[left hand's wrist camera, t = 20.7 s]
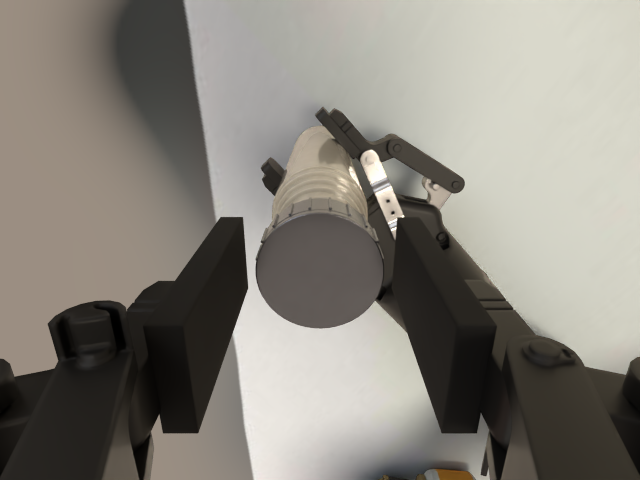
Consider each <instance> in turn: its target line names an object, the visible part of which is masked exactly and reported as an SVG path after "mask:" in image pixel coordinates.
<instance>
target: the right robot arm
mask: <svg viewBox="0 0 640 480" xmlns="http://www.w3.org/2000/svg"><path fill="white" fill-rule="evenodd" d="M315 116H316V117H317V119H318V120H319V121H320V122H321V123H322V124H323V126H324V127H325V128H326V129H327V130H328V131H329V132H330V133H331V135H332V136H333V137H334V138H335V139H336V140H337V141H338V142H339V144H340V145H341V146H342V147H343V148H344V149H345V150H346V151H347V153H348V154H349V155H350V156H351V157H352V158H353V159H354V158H357V159H358V160H359V161H360V163H361V165H362V167H363V169H364V172H365V174H366V176H367V178H368V181H369V183H370V185H371V187H372V190H373V192H374V194H373V195H372V196H371V197H369V198H368V199H367V200H366V202H367V208H368V223H369V224H370V225H371V227H372V229H373V228H374V229H375V232H376V234H377V237H378V240H379V243H378V245H379V246H380V249H381V252H382V254H383V257H384V261H383V262H384V279H383V283H382V287H381V289H380V292H379V294H378V296H377V298H376V299H375V301H376V302H377V303H378V304H379V305H380V306H381V307H382V308H383V309H384V310H385V311H386V312H387V313H388V314H389V315H390V316H391V317H392V318H393V319H394V320H395V321H396V322H397V323H398V324H399V325H400V326H401V327H402V328H403V329H404V330H405V331H406V332H407V330H406V328H405V325H404V322H403V319H402V316H401V313H400V310H399V307H398V304H397V301H396V298H395V296H394V293H393V290H392V279H393V266H394V252H395V239H396V225H397V217H419V218H420V219H421V220H422V222H423V223H424V225H425V226H426V227H427V229H428V230H429V231H430V233H431V234H432V236H433V237H434V238H435V240H436V241H437V243H438V244H439V245H440V247H441V248H442V250H443V251H444V252H445V254H446V255H447V257H448V258H449V259H450V261H451V262H452V264H453V265H454V266H455V268H456V269H457V271H458V272H459V273H460V275H461V276H462V277H463V279H464V280H483V281H485V282H486V283H488V284H490V285H491V286H493V287H495V288H496V286H495V285H494V284H493V283H492V282H491V281H490V279H489V277H488V276H487V274H486V273H485V272H484V271H482V270H481V269H480V268H479V267H478V265H477V264H476V263H475V262H474V261H473V260H472V258H471V257H470V256H469V255H468V254H467V253H466V251H465V250H464V249H463V248H462V247H461V246H460V245H459V243H458V242H457V241H456V240H455V239H454V238H453V236H452V235H451V234H450V233H449V232H448V231H447V229H446V228H445V227H444V225H443V222H442V215H441V212H440V211H439V210H440V208H441V207H442V206H443V204H444V203H445V202H446V200H447V199H448V197H449V196H450V195H451V193H458V192H460V191H461V190H462V189H463V188H464V185H465V182H464V179H463V178H462V177H460V176H459V175H457V174H456V173H455V172H453V171H452V170H450V169H449V168H447V167H446V166H444V165H442V164H441V163H439V162H438V161H436V160H434V159H433V158H431V157H430V156H428V155H427V154H425V153H423V152H422V151H420V150H419V149H417V148H416V147H414V146H412V145H411V144H409V143H408V142H406V141H404V140H403V139H401V138H400V137H398V136H397V135H395V134H389V135H387V136H385V138H382V139H380V140H378V141H374V142H370V141H367V140H366V139H365V138H364V137H363V136H362V135H361V134H360V133H359V132H358V130H357V129H356V128H355V127H354V126H353V125H352V123H351V122H350V121H349V120H348V119H347V118H346V116H345V115H344V114H343V113H342V112H341V111H339V110H337V109H335V108H334V109H333V110H332V111H331V112H330V113H328V112H327V111H326V109H325V108H324V107H322V108H321V109H320V110H319V111H318V112H317V113H316V114H315ZM393 157H394V158H396V159H397V160H399V161H401V162H402V163H404V164H406V165H407V166H409V167H410V168H412V169H414V170H415V171H417V172H418V173H420V174H422V175H423V176H424V177H423V179H422V186H423V187H424V188H425V189H426V190H427V192H428V197H427V199H426V200H424V199H419V198H414V197H409V196H404V195H399V194H395V193H394V191H393V188H392V186H391V184H390V182H389V180H388V178H387V175H386V173H385V171H384V168H383V166H382V164H381V162H384V161H386V160H388V159H391V158H393ZM261 170H262V171H263V172H264V174H265V175H264V177H263V179H262V180H263V183H264V185H265V187H266V188H267V189H268V190H269V191H270V192H271V193H272V194H273V195H274V196H275V195H276V192H277V190H278V187H279V185H280V182H281V179H282V177H283V174H284V172H285V170H284V169H283V168H282V167H281V166H280V165H279V164H278V163H277V162H276V161H275V160H274V159H273V158H271V157H270V158H269V159H268V160H267V161H266V162H265V163H264V164H263V165H262V167H261ZM496 289H497V288H496ZM497 290H498V289H497ZM498 291H499V290H498ZM499 292H500V291H499Z"/></svg>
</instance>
